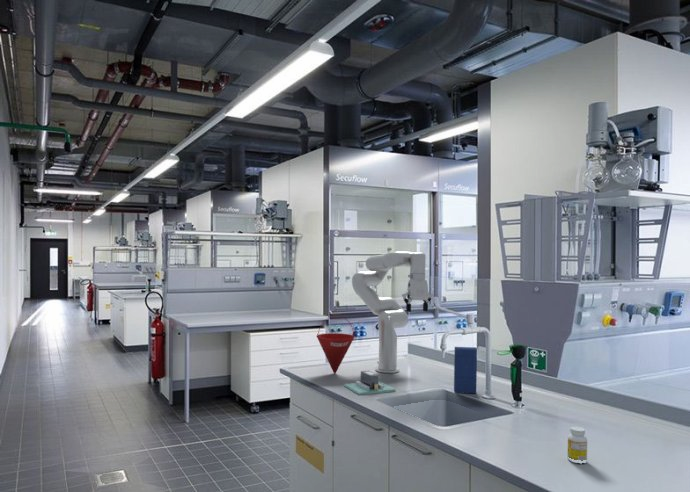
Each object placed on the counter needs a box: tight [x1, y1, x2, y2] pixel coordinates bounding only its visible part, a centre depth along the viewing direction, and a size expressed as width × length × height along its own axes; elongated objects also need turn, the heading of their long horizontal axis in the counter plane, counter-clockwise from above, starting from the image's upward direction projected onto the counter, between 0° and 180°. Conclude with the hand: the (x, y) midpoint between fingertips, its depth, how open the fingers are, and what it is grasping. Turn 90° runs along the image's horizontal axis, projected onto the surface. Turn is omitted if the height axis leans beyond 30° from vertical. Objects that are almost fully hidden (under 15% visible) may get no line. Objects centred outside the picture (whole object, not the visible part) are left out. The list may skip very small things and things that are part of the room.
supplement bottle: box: [567, 426, 588, 461], centre depth 152 cm, size 5×5×10 cm
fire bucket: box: [316, 314, 356, 374], centre depth 260 cm, size 22×20×30 cm
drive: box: [360, 370, 380, 390], centre depth 231 cm, size 10×4×6 cm, turn 24°
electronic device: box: [453, 346, 478, 395], centre depth 229 cm, size 10×5×20 cm, turn 84°
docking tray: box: [343, 380, 396, 396], centre depth 231 cm, size 16×18×4 cm
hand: (417, 311), depth 254 cm, fingers open, 9 cm apart
